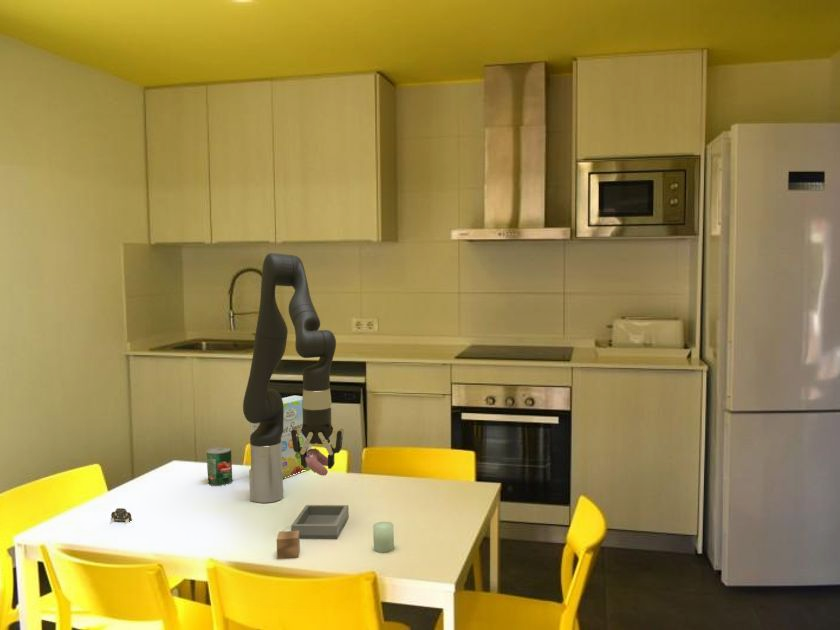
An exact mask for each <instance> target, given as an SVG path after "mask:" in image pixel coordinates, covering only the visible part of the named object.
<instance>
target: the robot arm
mask: <svg viewBox="0 0 840 630" xmlns="http://www.w3.org/2000/svg"><path fill="white" fill-rule="evenodd" d="M261 270H262V271H261V282H260V283H261V284H260V299H259V309H258V310H259V311H258V317H257V321H256V322H257V323H256V329H255V335H254V342H253V352H252V359H251V366H250V369H249V371H250V372H249V376H248V380H247V385H246V389H245V391H244V397H243V403H242V412H243V415H244V418H245V419H246V421H247V422H248V423H249V424H250V423H260V424H259V426H258V428H257V429H256V430H255V431H254V432H253V433H252V434H251V436H249V444H250V469H249V471H248V472H249V473H248V474H249V475H248V476H249V477H248V479H249V496H250V501H249V502H254V503H262V504H265V503H266V504H267V503H269V504H270V503H274V502H279V501H280V500H282V499H283V498H284V479H283V474H282V449H281V436H282V433H283V416H284V408H283V401H282V398H283V397H282V395H281V394H280V392H278V391H277V390H276V389H272V388H270V389H269V384H270V381H271V379H272V377H273V374H274V372H275V371H276V369H277V367H278V365H279V364H280V362H281V361H282V359H283V357H284V354H285V351H286V347H287V340H288V326H287V324H286V321H285V319H284V317H283V315H282V313H281V310H280V309H279V307H278V304H277V301H276V299H277V298H276V286H278V287H279V286H280V287H292V288H293V290H294V292H293V295H292V297H291V299H290V300H289V302H288V303H289V304H288V315H289V317H290V320H291V322H292V325H293V327H294V328H293V329H294V333H295V344H294V345H295V346H294V347H295V351H296V354H297V355H299V357H301V358H303V359H311V358H312V359H313V358H318V361H317V362H316V363H315V364H312V365H309V366H307V367H304V369H303V371H302V386H303V387H302V406H303V427H302V428H300V429H297V428H294V429H293V430H292V431H291V436H292V442H293V449H294V451H295V452H299V453H300V454H301V465H302V466H303V468H307V467H308V465H307V462H306V459H305V458H306V457H307V449H308V447H309V445H310V444H311V445H315V444H317V445H318V444H319V445H323V448H325V449H326V452H327V453H328V455H327V458H328V466H327V470H328V469H329V470H331V469H332V468H334V466H335V461H336V460H335V454H339V453H340V452H341V450H342V447H343V439H344V428H343V429H342V428H340V429H336V428H334V427H333V425H332V394H331V386H330V385H331V383H330V382H331V378H330V377H331V376H330V375H331V367H332V363H333V359H334V356H335V352H336V345H337V338H336V337H335V334H334V333H333V332H332V331H331V330H328V329H323V330H322V329H321V330H319V328H320V326H321V320H320V318H319V316H318V313H317V310H316V308H315V306H314V304H313V302H312V298H311V293H310V289H309V283H308V280H307V275H306V269H305V267H304V264H303V262H302V260H301V258H300V257H299V256H297V255H294V254H285V253H274V252H273V253H271V252H270V253H267V255H265V257H264V260H263V264H262V268H261ZM301 432H302V434H303V435H304V437H305V438H306V440H305V442H304V444H303V447H300V441H299V436H300V435H301ZM332 434H333V435H334V438H336V441H335V447H334V446H333V442H332V440H331V436H332Z"/></svg>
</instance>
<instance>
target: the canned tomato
mask: <svg viewBox="0 0 840 630" xmlns="http://www.w3.org/2000/svg"><path fill="white" fill-rule="evenodd" d="M206 465H207V466H206V468H207V485H208V484H209V485H208V486H210V485H211V486H210V487H223V486H222V485H224V486H227V485H226V484H228V485H230V484H232V483H233V482H232V481H233V463H232V448H231V447H229V446H217V447H211V448H208V449H207V450H206ZM231 482H232V483H231ZM229 483H230V484H229Z"/></svg>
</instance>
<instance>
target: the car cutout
mask: <svg viewBox="0 0 840 630" xmlns="http://www.w3.org/2000/svg"><path fill="white" fill-rule="evenodd" d="M110 517H111V518H110V524H111V523H112V524H113V523H125V525H127V524H129V523H128V522H130V521H131V522H133V517H132V514H131V513H130V512H128V511H127V509H126V508H124V507H121V508H120V507H119V508H116V509H115V510H114V511H112V512H111V516H110ZM131 522H130V523H131Z"/></svg>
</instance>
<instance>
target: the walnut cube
mask: <svg viewBox="0 0 840 630" xmlns="http://www.w3.org/2000/svg"><path fill="white" fill-rule="evenodd" d="M276 537H277V538H276V555H277V556H276V557H277V558H276V559H277V560H284V559H285V560H287V559H288V560H289V559H298V558H299V555H300V551H301V546H300V544H301V543H300V542H301V541H300V539H299V531H291V530H289V531H287V530H286V531H284V530H283V531H278V533H277V536H276Z"/></svg>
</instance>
